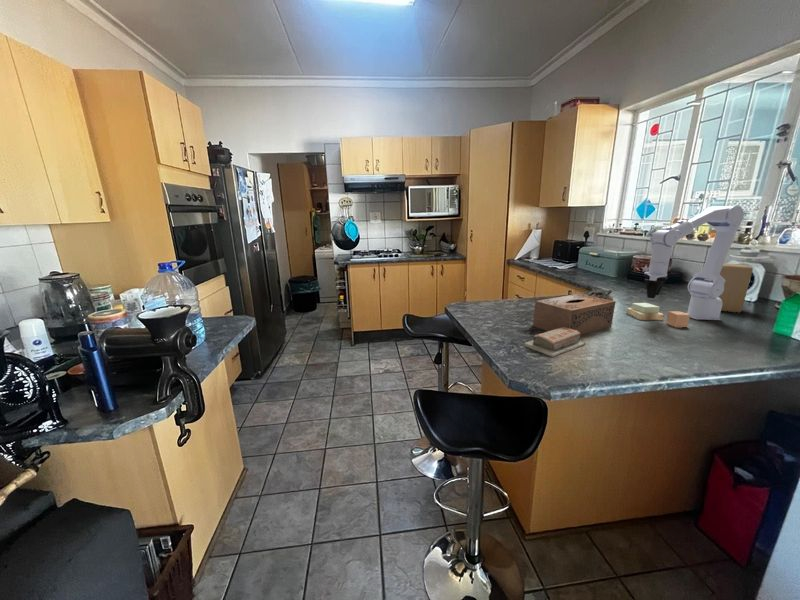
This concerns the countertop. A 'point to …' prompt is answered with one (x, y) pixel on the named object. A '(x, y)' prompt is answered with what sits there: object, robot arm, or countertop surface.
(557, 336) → the packaged product
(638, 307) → the sage block
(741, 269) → the wooden block
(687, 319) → the terracotta cube
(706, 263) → the robot arm
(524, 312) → the countertop surface
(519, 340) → the countertop surface
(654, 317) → the maple slab
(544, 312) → the tissue box cover
